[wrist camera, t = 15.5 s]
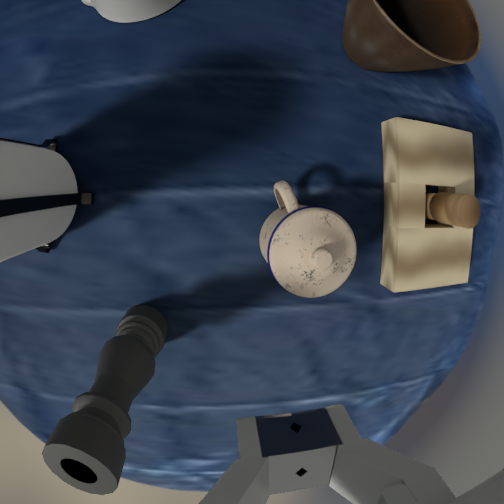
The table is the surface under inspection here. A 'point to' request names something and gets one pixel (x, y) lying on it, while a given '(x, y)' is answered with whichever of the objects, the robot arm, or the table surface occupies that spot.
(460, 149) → the block
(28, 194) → the coffee press
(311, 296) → the teacup with lid
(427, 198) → the peg
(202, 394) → the table surface
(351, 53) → the plant pot
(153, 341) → the candle holder
